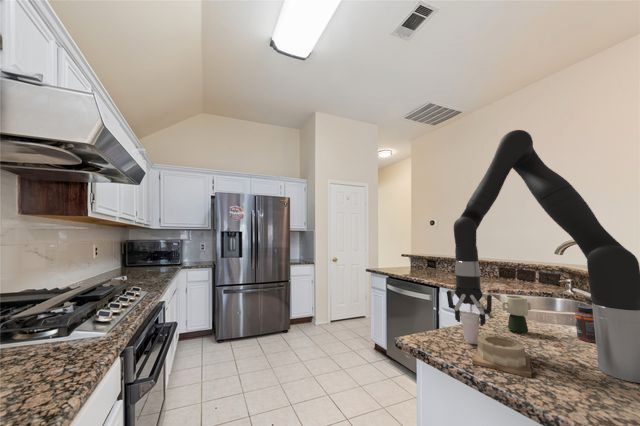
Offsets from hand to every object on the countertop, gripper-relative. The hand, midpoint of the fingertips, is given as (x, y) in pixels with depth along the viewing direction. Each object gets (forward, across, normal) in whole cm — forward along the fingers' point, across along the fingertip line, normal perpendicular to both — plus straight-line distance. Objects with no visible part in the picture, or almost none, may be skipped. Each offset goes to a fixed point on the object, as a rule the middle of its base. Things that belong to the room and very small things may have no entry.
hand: (470, 323), depth 92 cm
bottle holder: (+6, -9, +12) cm, 16 cm away
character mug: (+6, -13, -23) cm, 27 cm away
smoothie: (+6, 0, 0) cm, 6 cm away
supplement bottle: (+6, -33, -27) cm, 43 cm away
